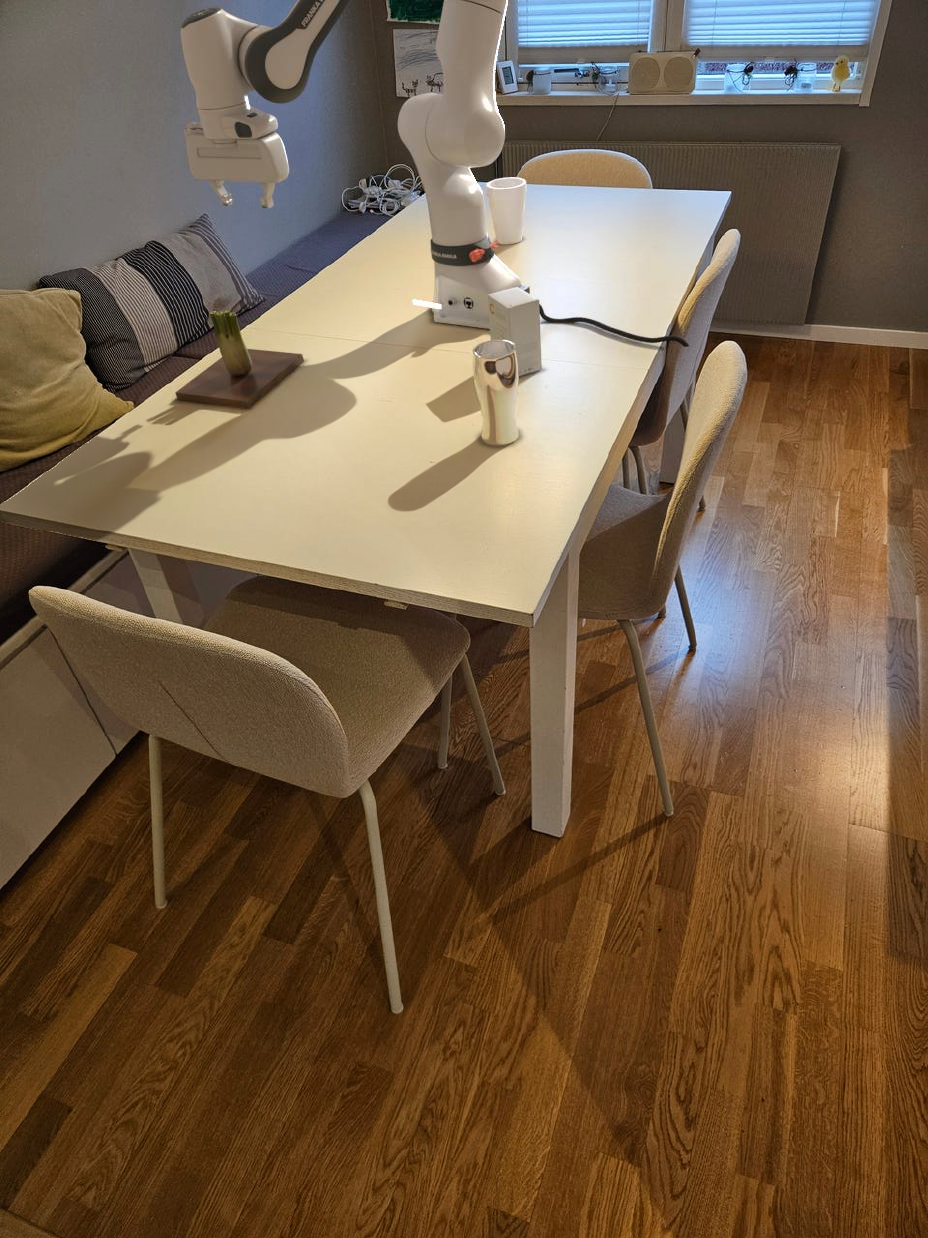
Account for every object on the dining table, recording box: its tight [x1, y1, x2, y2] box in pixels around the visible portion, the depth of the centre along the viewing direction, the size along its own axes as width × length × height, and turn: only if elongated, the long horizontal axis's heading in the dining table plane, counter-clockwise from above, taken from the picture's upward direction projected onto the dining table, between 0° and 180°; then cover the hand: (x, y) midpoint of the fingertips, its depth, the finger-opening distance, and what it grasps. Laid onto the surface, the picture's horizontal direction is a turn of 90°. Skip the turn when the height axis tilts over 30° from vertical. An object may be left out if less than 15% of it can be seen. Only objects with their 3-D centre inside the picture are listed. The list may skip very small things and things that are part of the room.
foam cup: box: [485, 176, 528, 245], centre depth 209 cm, size 10×9×13 cm
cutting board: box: [174, 348, 305, 410], centre depth 166 cm, size 20×16×2 cm
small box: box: [488, 287, 543, 378], centre depth 156 cm, size 8×6×13 cm
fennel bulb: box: [209, 309, 252, 376], centre depth 162 cm, size 6×5×12 cm
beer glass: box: [472, 339, 520, 446], centre depth 136 cm, size 7×7×15 cm
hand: (247, 206), depth 161 cm, fingers open, 8 cm apart
